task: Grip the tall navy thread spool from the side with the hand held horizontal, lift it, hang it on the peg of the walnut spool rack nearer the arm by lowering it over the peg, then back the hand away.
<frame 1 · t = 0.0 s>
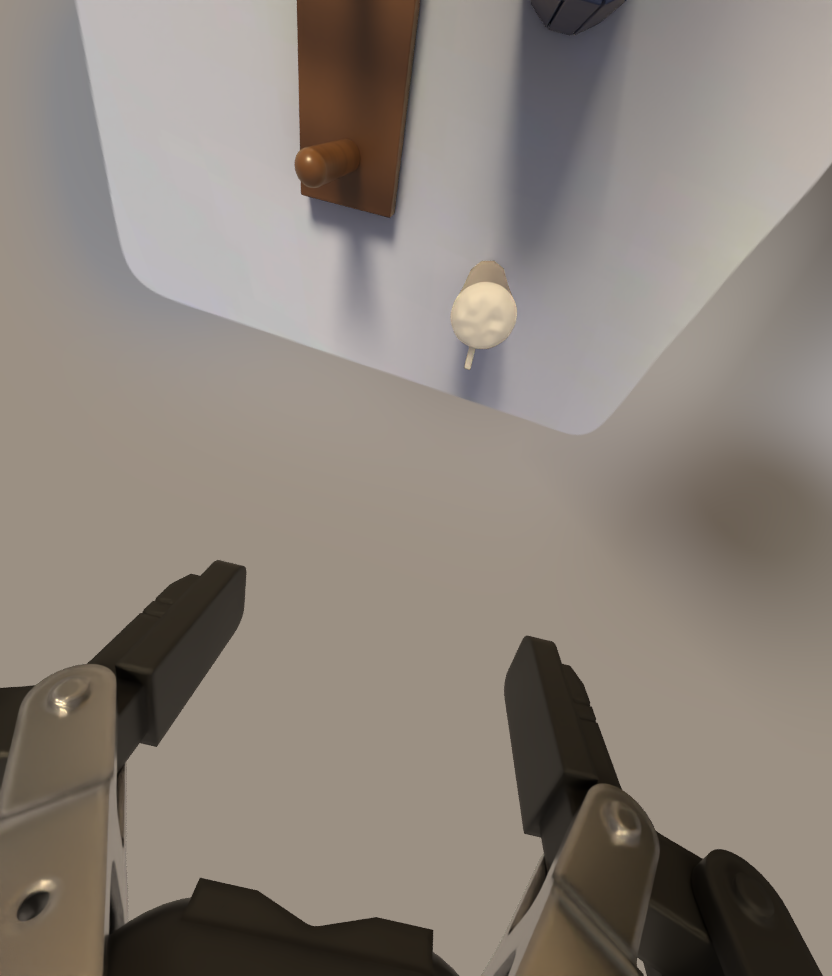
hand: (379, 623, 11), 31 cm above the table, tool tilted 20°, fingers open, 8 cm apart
rack: (360, 42, 25), on the table
milkshake: (484, 285, 34), on the table
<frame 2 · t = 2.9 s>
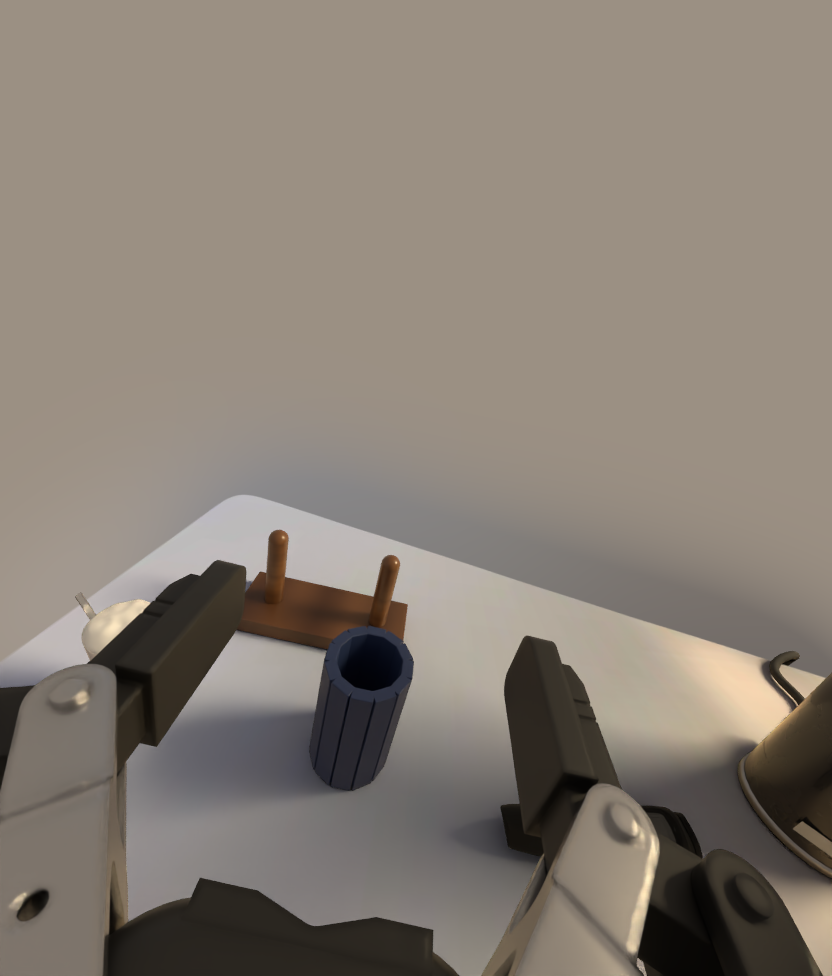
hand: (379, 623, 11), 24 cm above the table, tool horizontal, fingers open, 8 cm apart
spool: (349, 746, 31), on the table
rack: (323, 620, 42), on the table
milkshake: (130, 702, 30), on the table
electric trimmer: (595, 845, 29), on the table
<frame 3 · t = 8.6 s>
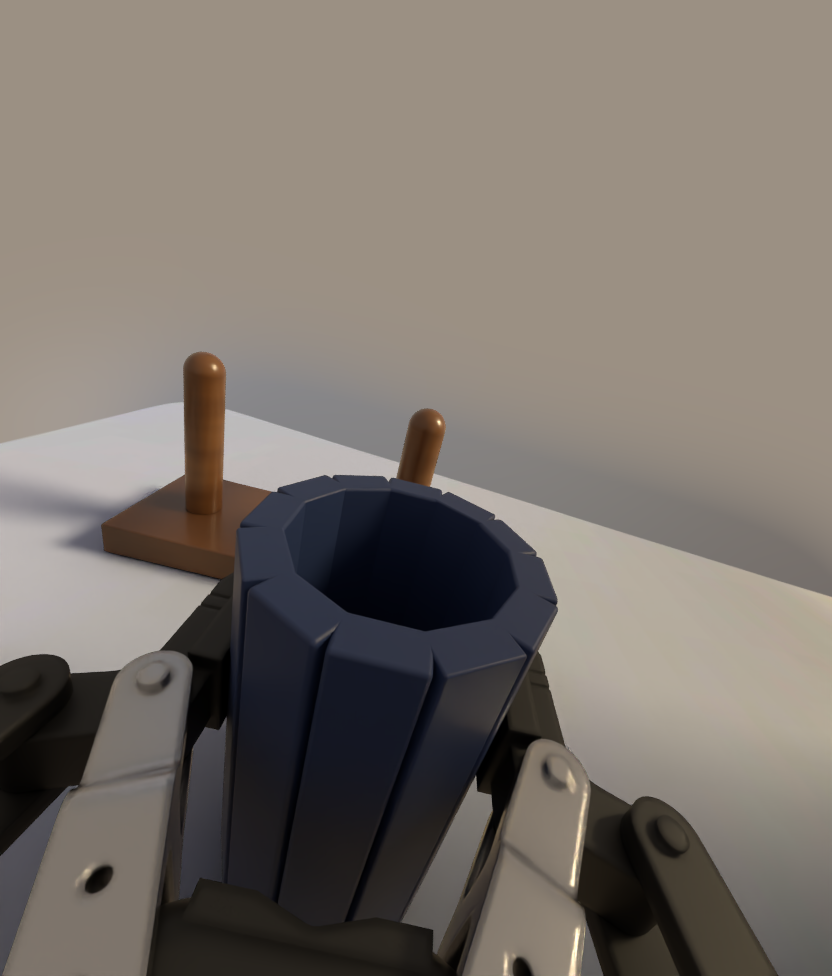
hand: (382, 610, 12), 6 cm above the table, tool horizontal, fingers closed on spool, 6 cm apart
spool: (332, 815, 12), on the table, touching gripper
rack: (297, 553, 23), on the table
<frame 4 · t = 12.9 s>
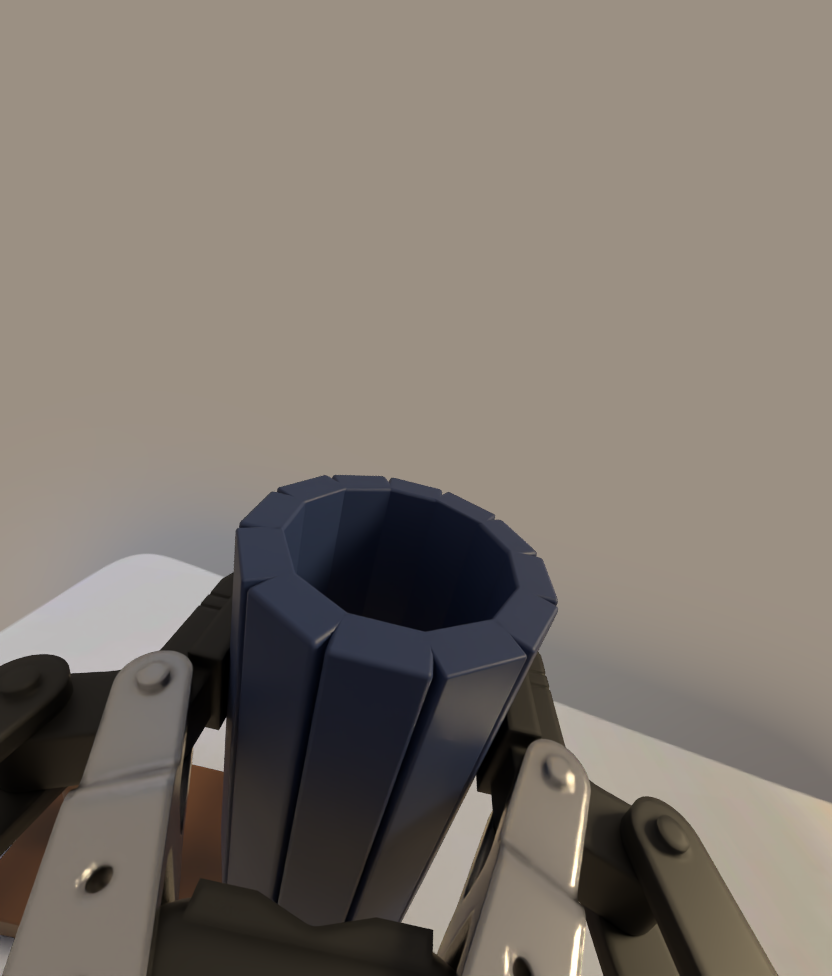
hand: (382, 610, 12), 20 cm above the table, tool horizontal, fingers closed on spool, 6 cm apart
spool: (332, 815, 12), point 14 cm above the table, touching gripper
rack: (207, 866, 20), on the table
when the fingers open (8 cm above the table, at t = 17.0 s): spool stays where it is, resting on rack.
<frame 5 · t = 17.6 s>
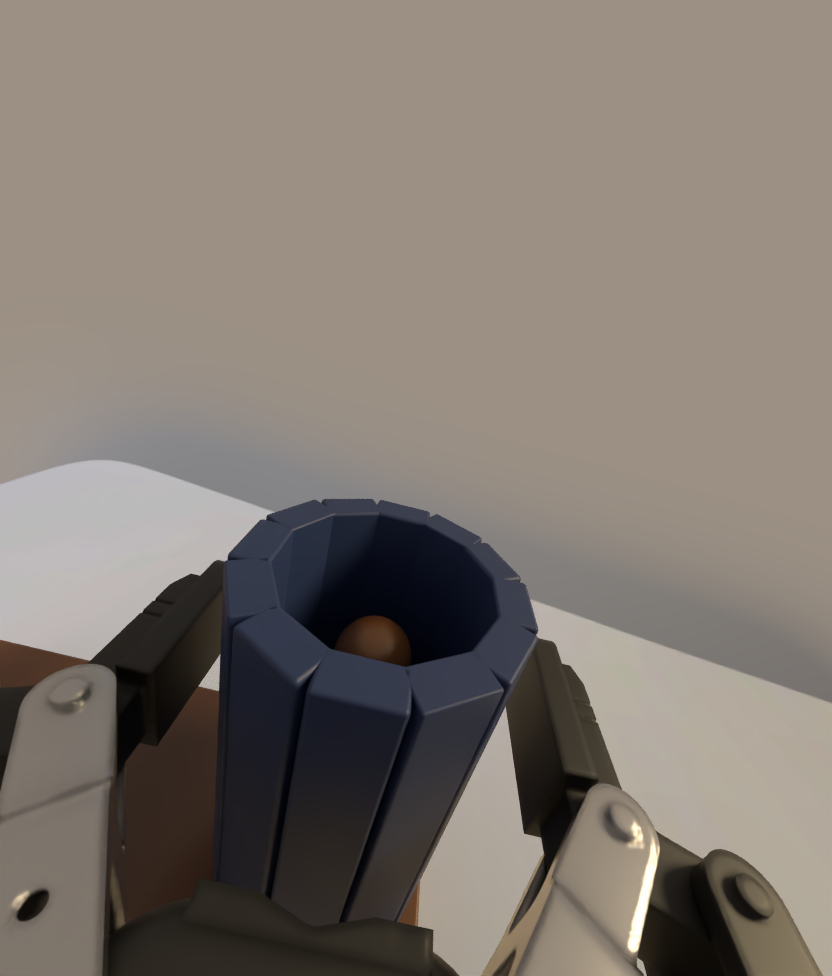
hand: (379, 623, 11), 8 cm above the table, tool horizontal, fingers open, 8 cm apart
spool: (323, 830, 12), point 2 cm above the table, touching rack
rack: (153, 817, 13), on the table
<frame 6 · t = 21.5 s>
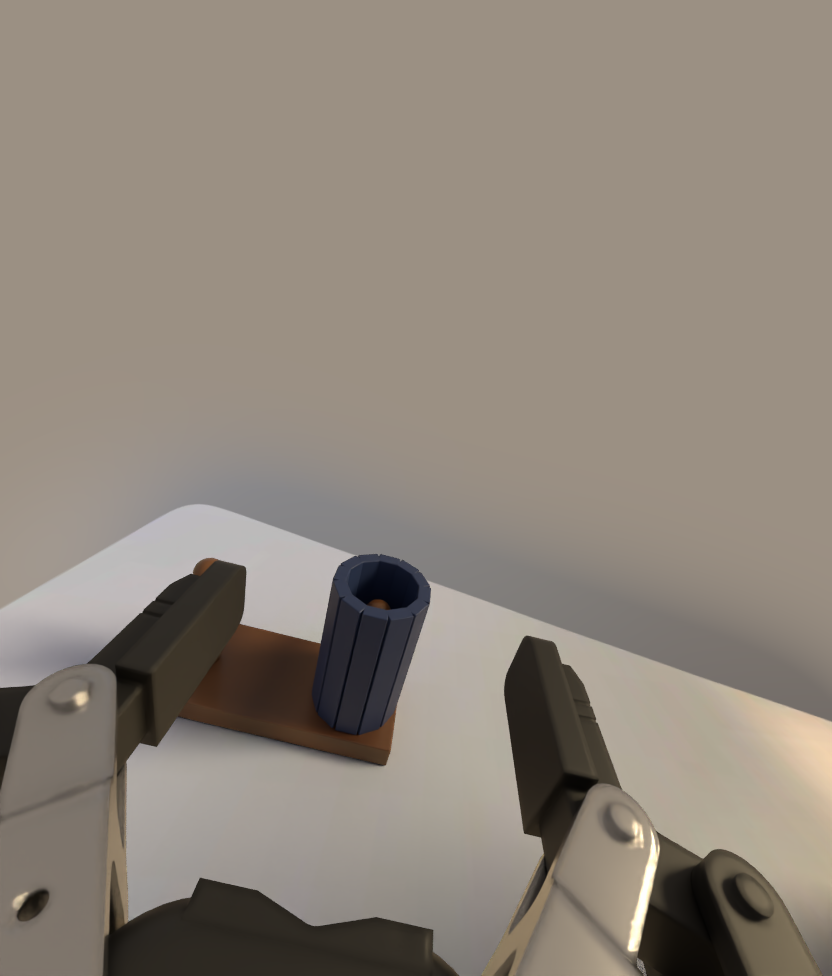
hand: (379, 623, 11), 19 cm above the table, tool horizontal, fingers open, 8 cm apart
spool: (355, 692, 28), point 2 cm above the table, touching rack
rack: (280, 689, 29), on the table
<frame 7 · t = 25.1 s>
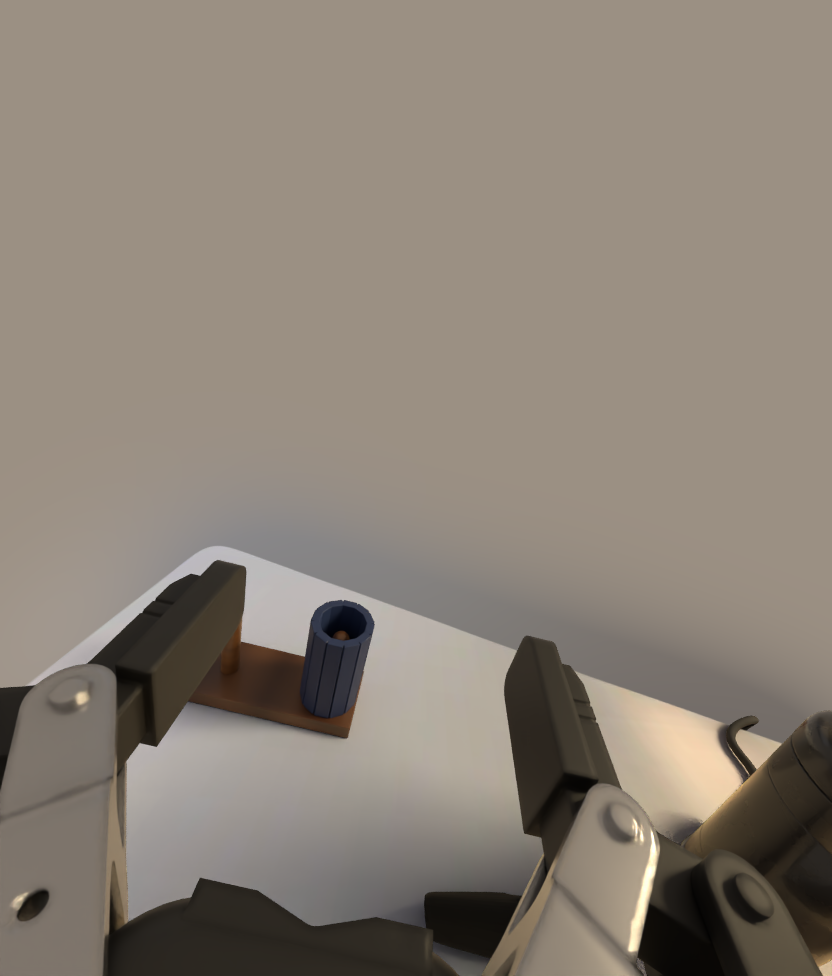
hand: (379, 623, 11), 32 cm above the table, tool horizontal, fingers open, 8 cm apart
spool: (329, 691, 42), point 2 cm above the table, touching rack
rack: (279, 689, 43), on the table
electric trimmer: (519, 937, 30), on the table
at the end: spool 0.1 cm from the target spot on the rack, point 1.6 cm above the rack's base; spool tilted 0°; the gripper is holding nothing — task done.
